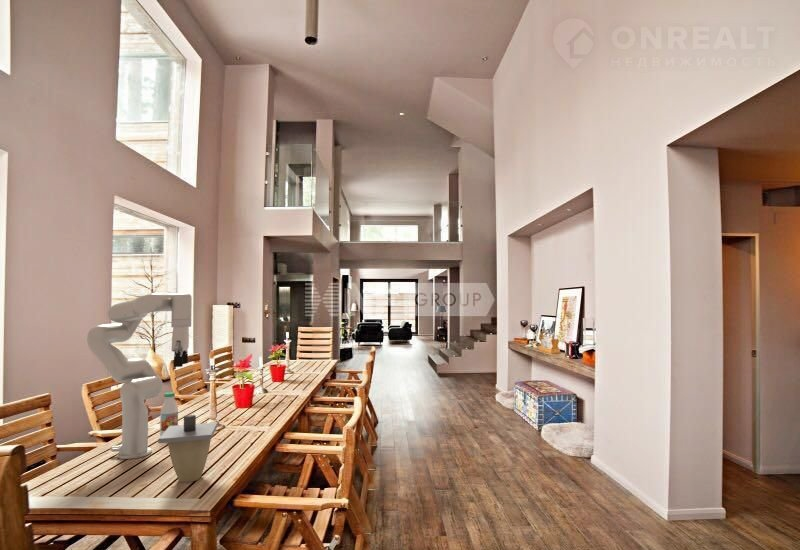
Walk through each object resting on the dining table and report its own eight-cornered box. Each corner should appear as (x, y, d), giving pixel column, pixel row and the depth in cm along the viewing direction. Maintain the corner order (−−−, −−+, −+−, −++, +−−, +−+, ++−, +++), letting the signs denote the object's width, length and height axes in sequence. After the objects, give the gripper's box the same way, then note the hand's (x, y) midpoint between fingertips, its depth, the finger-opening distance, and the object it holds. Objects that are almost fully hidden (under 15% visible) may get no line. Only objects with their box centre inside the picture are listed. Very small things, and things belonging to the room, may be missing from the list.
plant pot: (190, 469, 180) (190, 427, 180) (220, 474, 174) (220, 430, 175) (156, 483, 166) (157, 437, 167) (188, 489, 160) (188, 442, 161)
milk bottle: (156, 436, 224) (157, 393, 225) (169, 431, 231) (170, 390, 232) (168, 437, 221) (168, 395, 222) (181, 433, 228) (181, 391, 229)
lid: (158, 443, 160) (158, 424, 161) (169, 429, 177) (169, 412, 177) (211, 439, 165) (211, 420, 165) (217, 426, 181) (217, 409, 181)
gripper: (176, 322, 201) (175, 362, 200) (166, 324, 184) (165, 368, 183) (195, 322, 202) (194, 362, 201) (186, 324, 186) (186, 367, 185)
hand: (180, 365), depth 192 cm, fingers open, 9 cm apart
